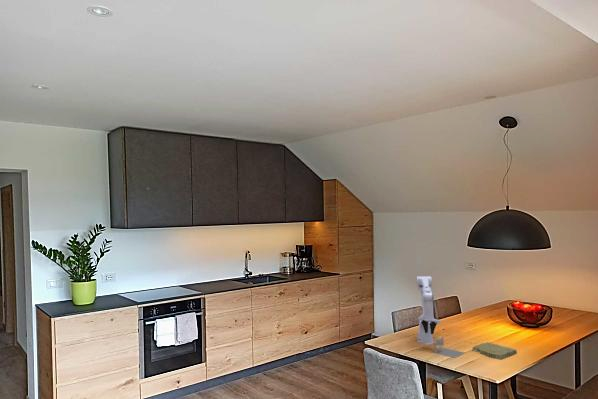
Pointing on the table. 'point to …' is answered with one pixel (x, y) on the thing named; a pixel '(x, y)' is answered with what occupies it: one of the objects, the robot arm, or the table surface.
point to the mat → (449, 353)
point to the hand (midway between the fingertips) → (429, 333)
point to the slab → (438, 344)
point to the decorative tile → (494, 350)
